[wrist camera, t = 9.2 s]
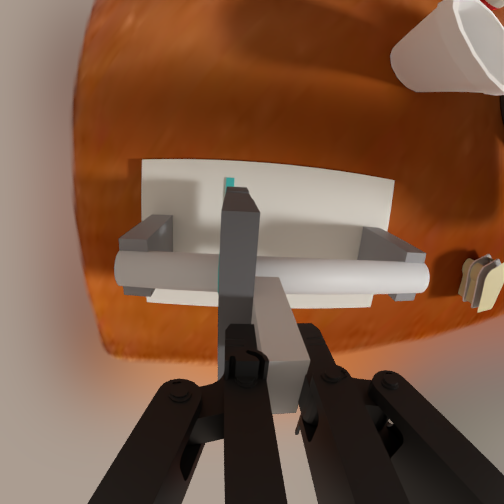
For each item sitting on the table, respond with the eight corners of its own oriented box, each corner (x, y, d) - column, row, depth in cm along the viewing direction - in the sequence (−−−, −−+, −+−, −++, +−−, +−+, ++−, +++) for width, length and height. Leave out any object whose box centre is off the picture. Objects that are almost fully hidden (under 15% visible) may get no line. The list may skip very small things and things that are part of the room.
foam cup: (409, 24, 20) (476, -12, 7) (451, 86, 22) (528, 74, 10) (362, 49, 21) (434, 1, 9) (412, 118, 24) (501, 111, 11)
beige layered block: (476, 299, 33) (497, 315, 28) (442, 306, 32) (464, 325, 27) (491, 239, 30) (516, 251, 24) (458, 239, 29) (485, 252, 24)
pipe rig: (147, 159, 24) (93, 161, 13) (387, 179, 26) (457, 194, 15) (150, 295, 28) (117, 360, 18) (364, 300, 30) (411, 357, 20)
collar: (226, 186, 21) (221, 210, 11) (246, 187, 21) (260, 212, 11) (222, 304, 24) (218, 395, 14) (239, 304, 24) (245, 396, 14)
